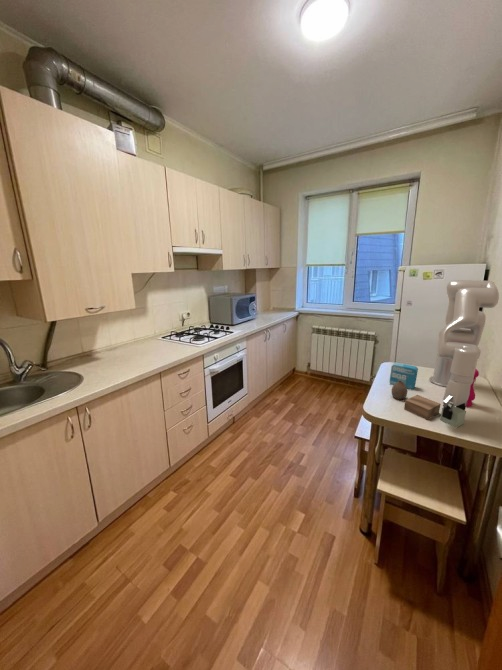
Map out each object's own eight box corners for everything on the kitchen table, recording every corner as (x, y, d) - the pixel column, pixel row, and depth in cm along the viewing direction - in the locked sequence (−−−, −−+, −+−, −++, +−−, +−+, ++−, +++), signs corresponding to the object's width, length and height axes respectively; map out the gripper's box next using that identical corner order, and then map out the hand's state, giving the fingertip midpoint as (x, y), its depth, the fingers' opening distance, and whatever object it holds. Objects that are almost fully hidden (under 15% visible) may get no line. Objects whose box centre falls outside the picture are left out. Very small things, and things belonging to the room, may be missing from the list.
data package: (389, 384, 147) (391, 364, 144) (390, 381, 150) (393, 361, 147) (413, 390, 140) (417, 369, 137) (414, 387, 143) (418, 366, 140)
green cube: (447, 416, 115) (450, 404, 114) (463, 423, 110) (466, 411, 109) (439, 420, 113) (442, 407, 111) (455, 427, 107) (458, 414, 106)
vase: (408, 401, 128) (411, 385, 126) (393, 400, 129) (395, 384, 127) (403, 395, 135) (405, 379, 132) (389, 393, 136) (391, 378, 134)
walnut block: (415, 404, 126) (417, 394, 125) (438, 413, 118) (440, 403, 117) (403, 409, 121) (405, 400, 120) (426, 420, 113) (428, 410, 112)
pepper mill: (469, 401, 128) (478, 362, 123) (476, 408, 122) (485, 368, 116) (451, 398, 130) (459, 361, 125) (457, 405, 124) (466, 366, 119)
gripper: (462, 370, 113) (454, 406, 117) (438, 378, 106) (431, 416, 110) (483, 377, 107) (474, 414, 111) (459, 385, 99) (451, 425, 103)
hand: (453, 415), depth 110 cm, fingers open, 9 cm apart
